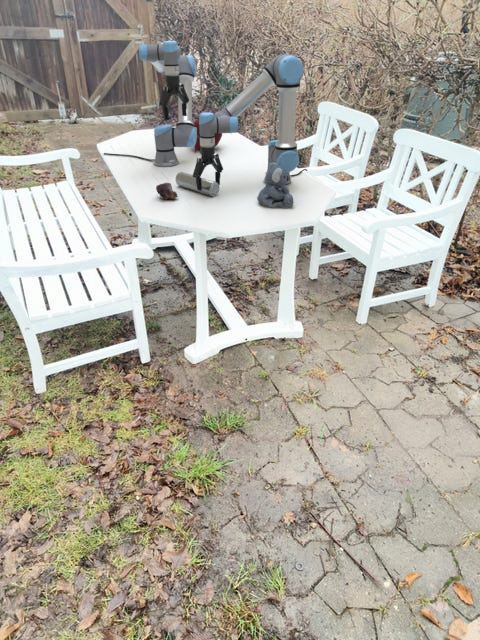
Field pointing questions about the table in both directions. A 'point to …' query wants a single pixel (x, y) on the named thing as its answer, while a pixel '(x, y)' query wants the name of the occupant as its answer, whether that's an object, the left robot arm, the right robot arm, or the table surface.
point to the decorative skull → (197, 145)
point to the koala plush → (275, 189)
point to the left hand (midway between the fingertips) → (175, 117)
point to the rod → (190, 183)
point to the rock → (166, 191)
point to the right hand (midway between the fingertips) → (208, 187)
